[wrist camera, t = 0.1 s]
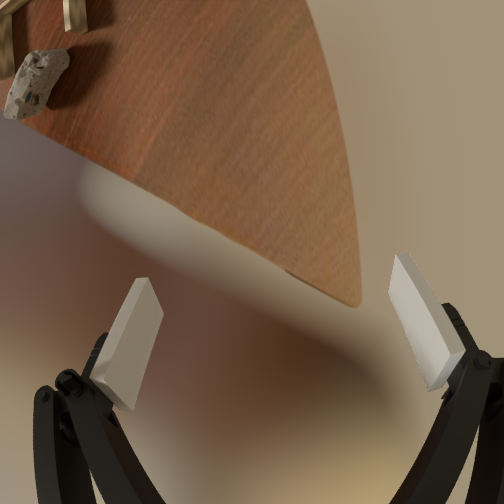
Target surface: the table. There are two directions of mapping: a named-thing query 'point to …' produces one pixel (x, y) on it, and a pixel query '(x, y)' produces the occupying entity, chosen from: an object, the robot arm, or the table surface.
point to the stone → (35, 82)
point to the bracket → (3, 57)
